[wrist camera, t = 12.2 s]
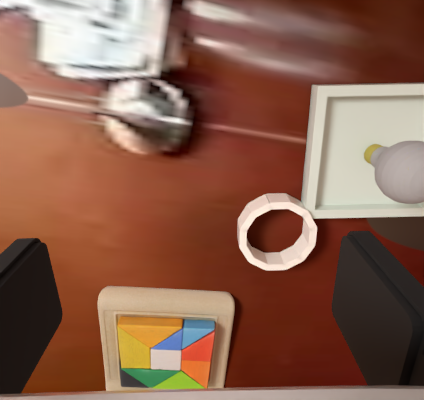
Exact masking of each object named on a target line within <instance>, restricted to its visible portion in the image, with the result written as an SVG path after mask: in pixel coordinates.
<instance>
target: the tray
mask: <svg viewBox="0 0 424 400" xmlns="http://www.w3.org/2000/svg"><path fill="white" fill-rule="evenodd" d="M402 141H423V142H424V83H373V84H321V85H312V90H311V100H310V111H309V122H308V133H307V143H306V154H305V165H304V176H303V186H302V197H301V202H302V204H303V205H304V207H305V208H306V209H307V210H308V211H309V213H310V215H311V217H312V219H317V218H364V217H410V216H424V202H422V203H416V204H405V203H399V202H396V201H393V200H392V199H390V198H389V197H387V196H386V195H384V194H383V193H382V192H381V190H380V189H379V187H378V186H377V184H376V181H375V167H373V166H372V165H371V164H370V163H367V162H366V161H365V159H364V152H365V150H366V149H367V148H368V147H369V146H370V145H373V144H379V145H381V146H384V147H390V146H392V145H394V144H397V143H399V142H402Z"/></svg>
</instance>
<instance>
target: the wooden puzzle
mask: <svg viewBox="0 0 424 400" xmlns="http://www.w3.org/2000/svg"><path fill="white" fill-rule="evenodd" d="M234 312H235V303H234V299H233V297H232V295H231V294H230V293H228V292H221V291H203V290H184V289H165V288H145V287H125V286H107V287H105V288H104V289H103V290H102V291H101V292H100V294H99V297H98V314H99V323H100V331H101V341H102V350H103V359H104V368H105V379H106V391H125V390H164V389H206V388H224V382H225V375H226V367H227V360H228V353H229V346H230V339H231V332H232V326H233V319H234Z"/></svg>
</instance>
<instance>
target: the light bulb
mask: <svg viewBox="0 0 424 400" xmlns="http://www.w3.org/2000/svg"><path fill="white" fill-rule="evenodd" d="M364 159H365V161H366V162H367V163H370V164H371V165H372V166H373V167H375V181H376V184H377V186H378V187H379V189H380V190H381V192H382V193H383V194H384V195H386V196H387V197H389V198H390V199H392V200H393V201H396V202H399V203H405V204H416V203H422V202H424V142H423V141H402V142H399V143H397V144H394V145H392V146H390V147H384V146H381V145H379V144H373V145H370V146H369V147H368V148H367V149H366V150H365V152H364Z"/></svg>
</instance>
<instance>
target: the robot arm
mask: <svg viewBox="0 0 424 400" xmlns="http://www.w3.org/2000/svg"><path fill="white" fill-rule="evenodd" d="M332 312H333V316H334V318H335V320H336V322H337V324H338V326H339V328H340V330H341V332H342V334H343V336H344V338H345V340H346V342H347V344H348V346H349V348H350V350H351V352H352V354H353V356H354V358H355V360H356V362H357V364H358V366H359V368H360V370H361V372H362V374H363V376H364V378H365V380H366V382H367V384H368V386H304V387H250V388H206V389H164V390H125V391H91V392H58V393H26V394H21V392H22V390H23V388H24V387H25V385H26V383H27V381H28V380H29V378H30V376H31V374H32V372H33V371H34V369H35V367H36V365H37V364H38V362H39V360H40V358H41V356H42V355H43V353H44V351H45V349H46V348H47V346H48V344H49V342H50V340H51V339H52V337H53V335H54V333H55V332H56V330H57V328H58V326H59V324H60V322H61V320H62V308H61V303H60V299H59V295H58V291H57V287H56V283H55V278H54V274H53V270H52V266H51V262H50V257H49V253H48V249H47V246H46V244H45V243H41V241H40V240H39V239H38V238H26V239H17V240H15V241H14V242H13V243H12V244H11V245H10V246H9V247H8V248H7V249H6V250H5V251H4V252H2V253H1V254H0V400H424V287H423V286H422V285H421V284H420V283H419V282H418V281H417V280H416V279H415V278H414V277H413V276H412V275H411V274H410V273H409V272H408V271H407V269H406V268H405V267H404V266H403V265H402V264H401V263H400V262H399V261H398V260H397V259H396V258H395V257H394V256H393V255H392V254H391V253H390V252H389V251H388V250H387V249H386V248H385V247H384V246H383V245H382V244H381V242H380V241H379V240H378V239H377V238H376V237H375V236H374V235H373V234H372V233H371V232H369V231H350V232H349V233H348V235H347V236H343V238H342V241H341V247H340V254H339V260H338V267H337V274H336V280H335V287H334V294H333V300H332Z"/></svg>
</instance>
